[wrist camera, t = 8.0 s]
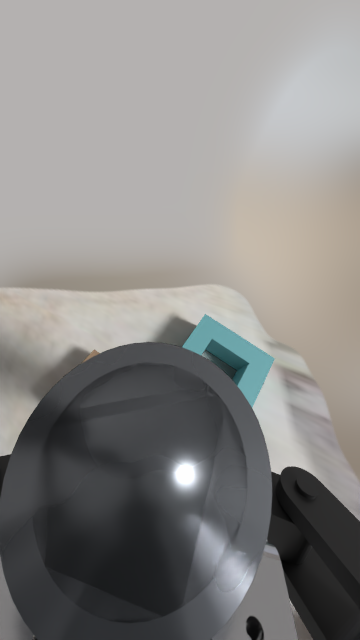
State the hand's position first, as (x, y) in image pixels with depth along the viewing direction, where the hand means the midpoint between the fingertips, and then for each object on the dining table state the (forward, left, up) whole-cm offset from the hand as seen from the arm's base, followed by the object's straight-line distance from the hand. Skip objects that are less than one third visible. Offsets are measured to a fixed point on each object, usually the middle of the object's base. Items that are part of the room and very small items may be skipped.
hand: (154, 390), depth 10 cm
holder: (+4, +8, -17) cm, 19 cm away
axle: (+1, -2, -5) cm, 6 cm away
